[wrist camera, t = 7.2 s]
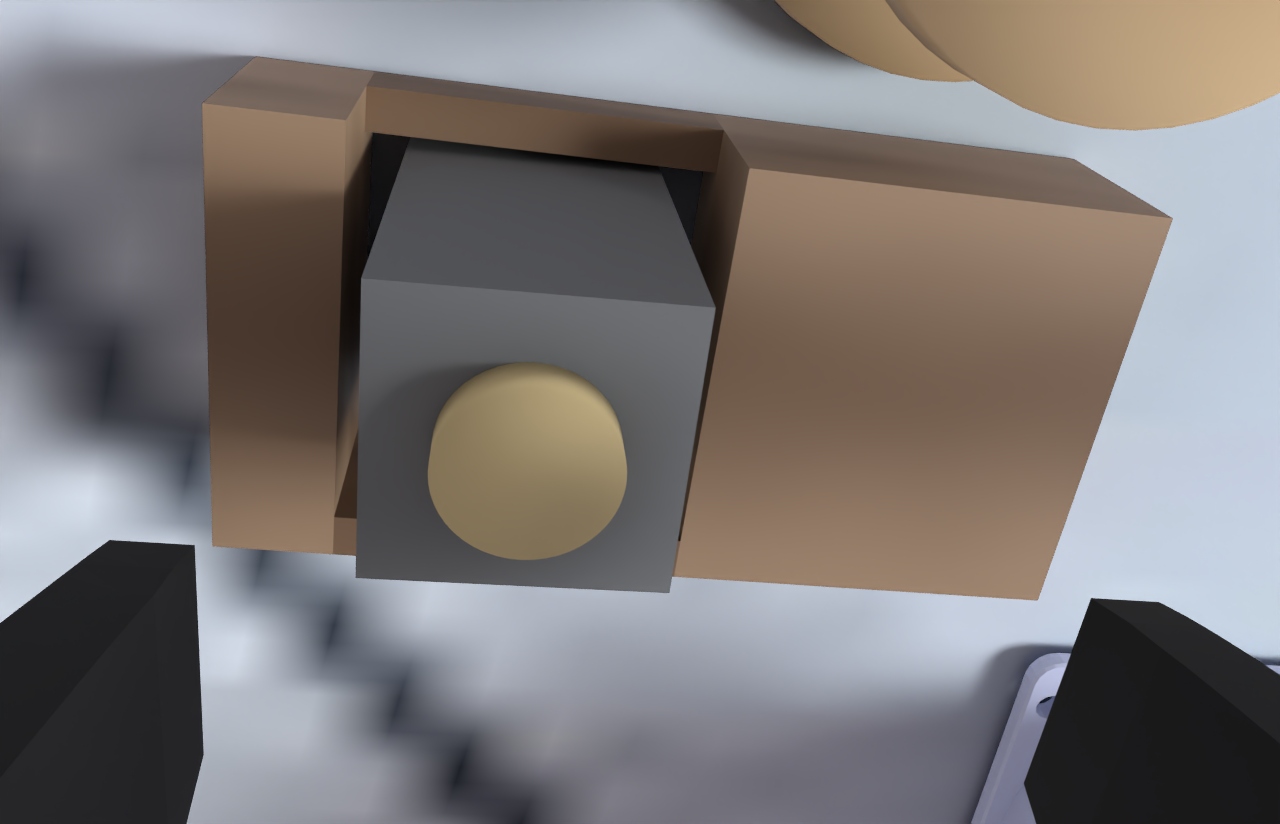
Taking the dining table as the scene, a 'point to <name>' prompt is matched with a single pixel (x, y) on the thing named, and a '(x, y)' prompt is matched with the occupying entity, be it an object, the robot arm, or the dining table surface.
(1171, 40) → the spool
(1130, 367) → the dining table surface
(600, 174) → the grey rectangular block
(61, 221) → the dining table surface
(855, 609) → the dining table surface
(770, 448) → the block with rectangular opening
